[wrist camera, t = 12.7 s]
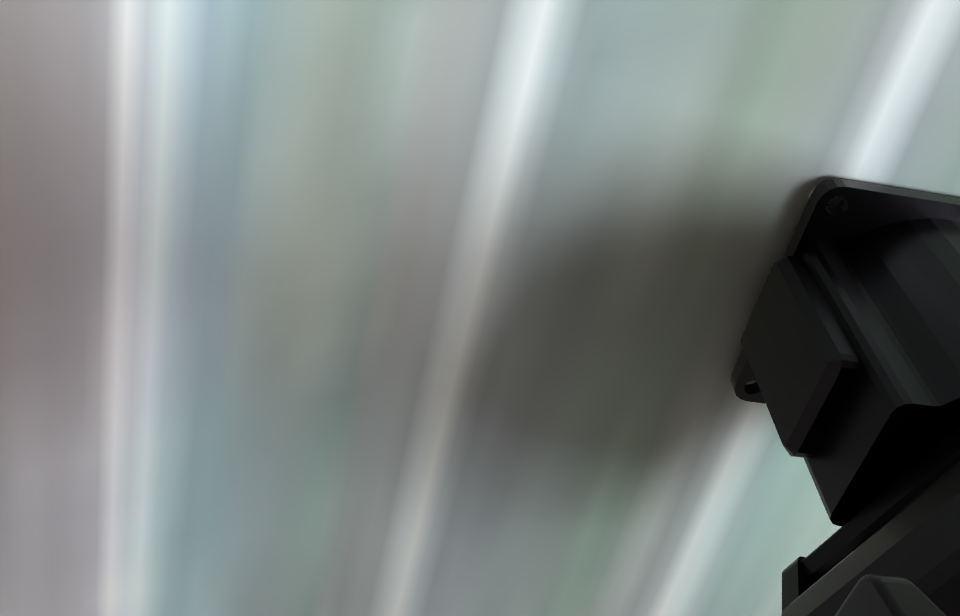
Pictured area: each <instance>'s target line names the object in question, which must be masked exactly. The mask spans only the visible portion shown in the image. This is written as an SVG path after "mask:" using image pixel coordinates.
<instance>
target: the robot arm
mask: <svg viewBox="0 0 960 616" xmlns="http://www.w3.org/2000/svg"><path fill="white" fill-rule="evenodd" d="M836 196H843V198H842V200H841V201H840V203H839V204H837V205H835V206H834V207H827V203H828V202H829V201H830V200H831V199H832V198H834V197H836ZM741 343H742V346H743V351H742V353H741V355H740V357H739V360H738V362H737V364H736V366H735V369H734V371H733V373H732V376H731V382H732V385H733V388H734V391H735V393H736V396H738V397H739V398H740V399H742V400H745V401H750V402H758V403H766V405H767V407H768V410H769V412H770V415H771V417H772V419H773V422H774V424H775V427H776V429H777V432H778V434H779V437H780V439H781V442H782V444H783V446H784V447H785V449H786V450H787V452H788V453H789V454H790V456H794V457H802V458H804V460H805V462H806V464H807V467H808V469H809V472H810V474H811V476H812V479H813V481H814V483H815V486H816V488H817V490H818V493H819V495H820V497H821V500H822V502H823V504H824V507H825V509H826V511H827V514H828V516H829V518H830V520H831V522H832V523H833V524H835V525H838V526H842V527H841V528H840V529H839V530H838V531H836V532H835V533H834V534H833V535H832V536H831V537H829V538H828V539H827V540H826V541H825V542H824V543H822V544H821V545H820V546H819V547H818V548H817V549H815V550H814V551H813V552H812V553H811V554H810V555H808V556H807V557H806V558H805V557H799V558H797V559H796V560H795V561H794V562H793V563H792V564H790V565H789V566H788V567H787V568H786V569H785V570H784V571H783V572H782V616H960V198H957V197H951V196H945V195H939V194H933V193H927V192H920V191H914V190H908V189H902V188H896V187H890V186H884V185H878V184H871V183H865V182H859V181H853V180H847V179H841V178H839V179H830V180H827V181H824V182H823V183H821V184H820V185H819V186H817V187H816V188H815V190H814V191H813V193H812V194H811V197H810V199H809V201H808V203H807V206H806V208H805V210H804V213H803V215H802V217H801V219H800V222H799V224H798V226H797V228H796V231H795V233H794V235H793V237H792V240H791V242H790V244H789V246H788V249H787V251H786V253H785V255H784V256H783V257H781V258H780V259H779V260H778V261H776V262H775V263H774V265H773V267H772V269H771V272H770V274H769V276H768V279H767V281H766V283H765V286H764V288H763V290H762V292H761V295H760V297H759V299H758V302H757V304H756V306H755V308H754V311H753V313H752V315H751V318H750V320H749V322H748V324H747V327H746V329H745V331H744V334H743V336H742V339H741ZM750 380H757V381H756V382H755V383H753V384H746V383H747V382H748V381H750Z"/></svg>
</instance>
